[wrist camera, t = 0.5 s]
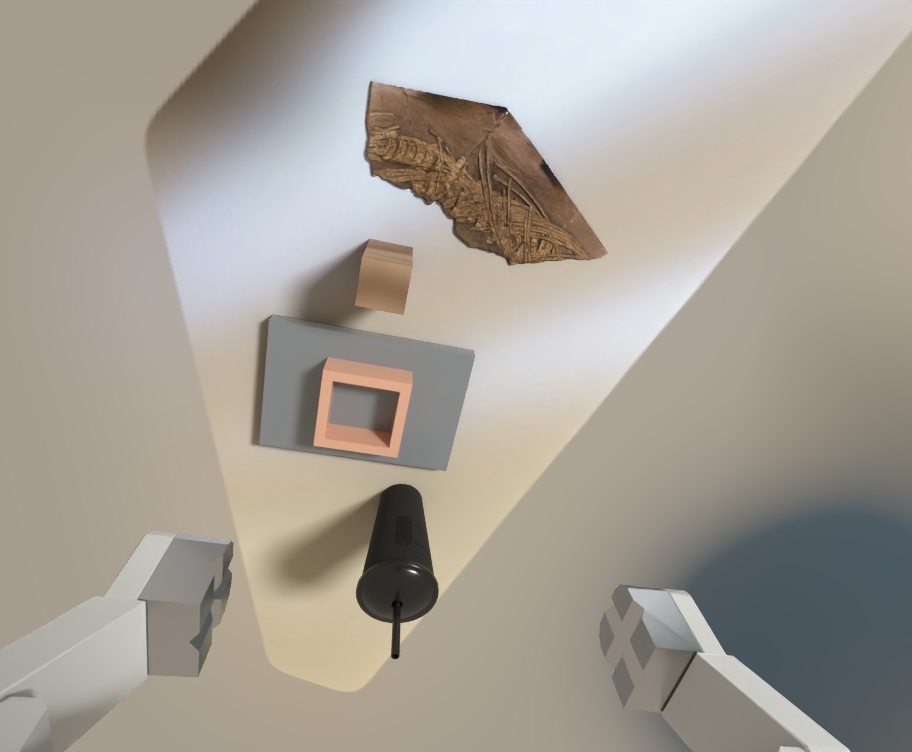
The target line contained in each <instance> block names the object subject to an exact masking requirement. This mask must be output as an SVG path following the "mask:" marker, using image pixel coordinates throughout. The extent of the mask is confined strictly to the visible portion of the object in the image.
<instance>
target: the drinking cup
mask: <svg viewBox="0 0 912 752" xmlns="http://www.w3.org/2000/svg"><path fill="white" fill-rule="evenodd" d="M438 593H439V589H438V583H437V580H436V578H435V576H434V573H433V567H432V560H431V554H430V548H429V541H428V535H427V528H426V522H425V516H424V509H423V503H422V497H421V495H420V493H419V491H418V490H417V489H415V488H414V487H412V486H410V485H406V484H397V485H393V486H391V487H389V488H387V489H386V490H385V491H384V492H383V494H382V496H381V499H380V503H379V508H378V512H377V516H376V520H375V524H374V528H373V533H372V537H371V541H370V545H369V549H368V553H367V558H366V562H365V566H364V570H363V574H362V576H361V578H360V579H359V581H358V584H357V588H356V598H357V601H358V604H359V606H360V607H361V609H362V610H363V611H364V612H365V613H366V614H368V615H369V616H371V617H372V618H374V619H377V620H379V621H383V622H388V623H393V625H392V648H391V657H392V658H393V659H398V657H399V652H400V649H399V648H400V623H404V622H409V621H413V620H416V619H418V618H420V617H422V616H424V615H425V614H426V613H428V612H429V611H430V610H431V609H432V608H433V606H434V605H435V603H436V601H437V598H438Z"/></svg>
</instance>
